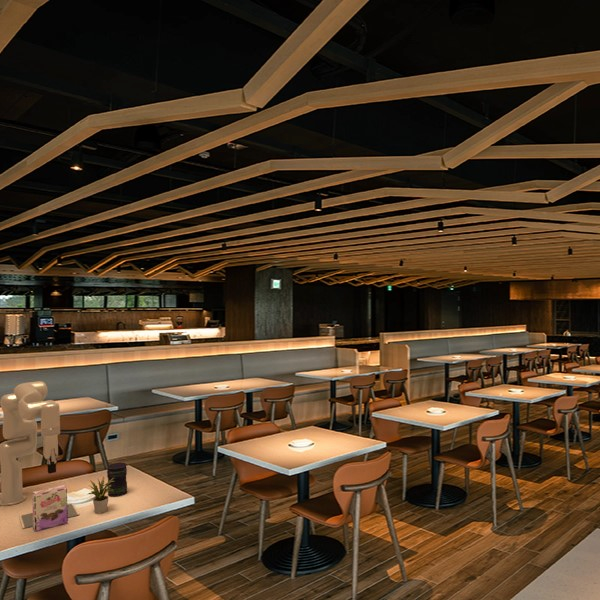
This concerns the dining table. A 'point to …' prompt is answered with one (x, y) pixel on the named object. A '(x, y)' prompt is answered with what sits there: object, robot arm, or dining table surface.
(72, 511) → the mat
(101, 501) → the house plant
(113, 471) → the rusty oil drum
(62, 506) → the candy box
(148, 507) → the dining table surface
